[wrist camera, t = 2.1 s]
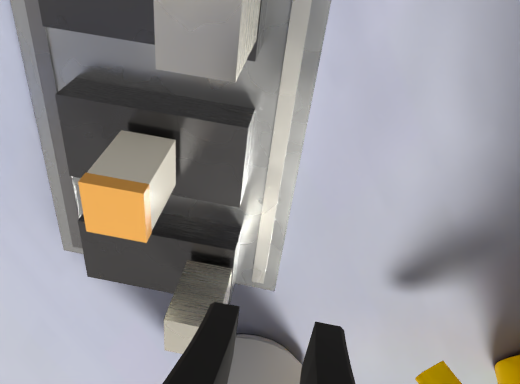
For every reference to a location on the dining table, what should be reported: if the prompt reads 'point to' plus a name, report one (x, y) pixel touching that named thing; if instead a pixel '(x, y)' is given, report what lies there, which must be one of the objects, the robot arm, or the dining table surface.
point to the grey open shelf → (178, 131)
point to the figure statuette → (443, 380)
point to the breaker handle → (129, 186)
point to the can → (262, 362)
